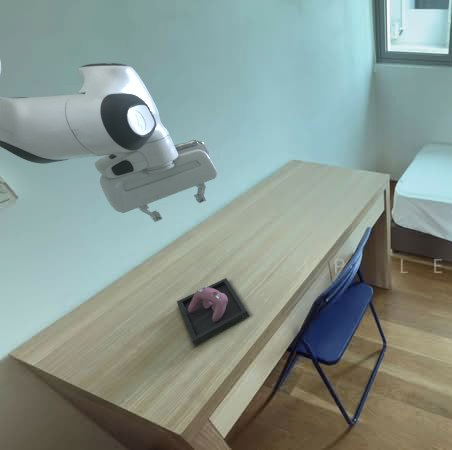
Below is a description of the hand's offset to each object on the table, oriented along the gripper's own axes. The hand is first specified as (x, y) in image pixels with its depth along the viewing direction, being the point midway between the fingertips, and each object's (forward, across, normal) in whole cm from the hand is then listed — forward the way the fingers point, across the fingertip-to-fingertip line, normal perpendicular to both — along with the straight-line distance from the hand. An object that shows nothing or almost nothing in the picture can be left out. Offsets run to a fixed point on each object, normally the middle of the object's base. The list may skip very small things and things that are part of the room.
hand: (180, 210), depth 70 cm
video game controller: (+26, +5, +4) cm, 27 cm away
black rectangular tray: (+27, +5, +4) cm, 28 cm away
